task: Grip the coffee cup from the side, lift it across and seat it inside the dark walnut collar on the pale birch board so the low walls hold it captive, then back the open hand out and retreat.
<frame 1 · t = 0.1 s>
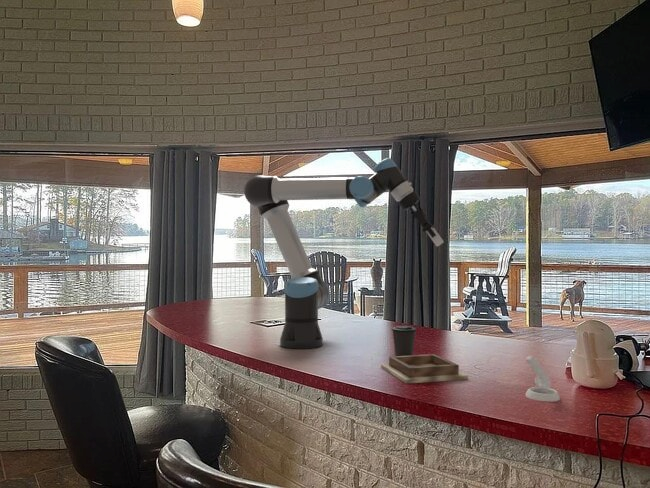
hand: (440, 244, 194), 36 cm above the bar counter, tool tilted 35°, fingers open, 13 cm apart
coffee cup: (403, 358, 173), on the bar counter
white ring with rod: (542, 397, 131), on the bar counter
collar board: (422, 373, 153), on the bar counter
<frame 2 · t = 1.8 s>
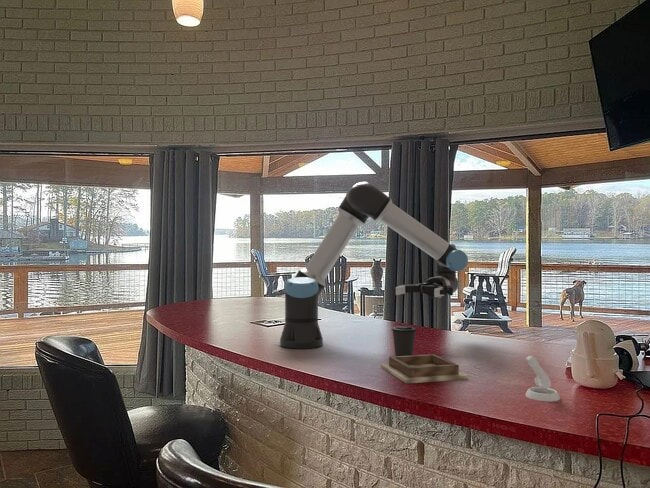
hand: (415, 292, 181), 20 cm above the bar counter, tool horizontal, fingers open, 13 cm apart
nothing on the bar counter moved.
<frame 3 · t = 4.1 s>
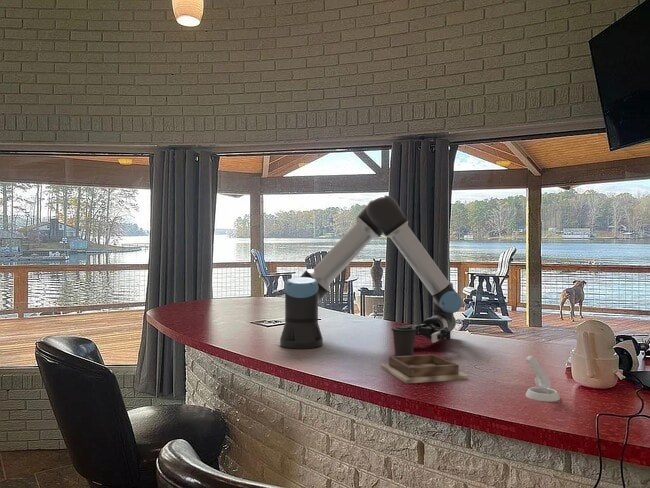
hand: (412, 336, 177), 6 cm above the bar counter, tool horizontal, fingers open, 13 cm apart
nothing on the bar counter moved.
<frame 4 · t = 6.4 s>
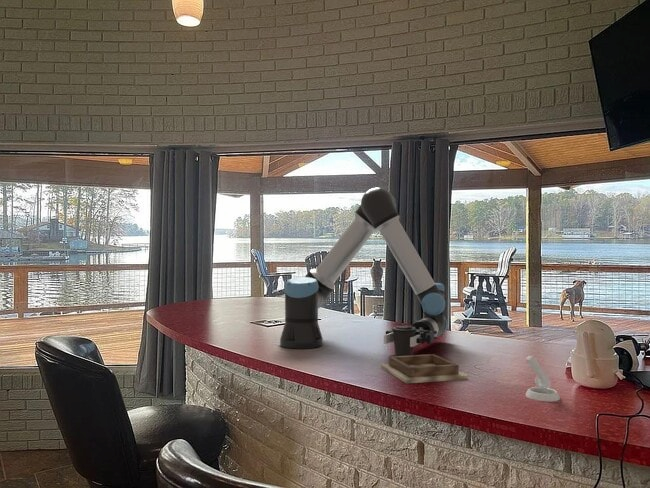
hand: (398, 341, 169), 6 cm above the bar counter, tool horizontal, fingers closed on coffee cup, 8 cm apart
coffee cup: (403, 358, 173), on the bar counter, touching gripper
everything else where it was.
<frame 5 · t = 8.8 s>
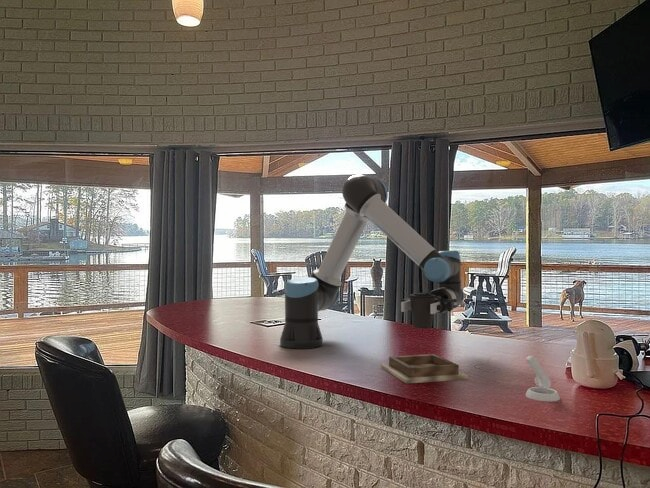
hand: (416, 308, 155), 18 cm above the bar counter, tool horizontal, fingers closed on coffee cup, 8 cm apart
coffee cup: (422, 327, 159), point 12 cm above the bar counter, touching gripper
everything else where it was.
when the fingers open (8 cm above the bar counter, at t = 11.5 s): coffee cup drops 1 cm, resting on collar board.
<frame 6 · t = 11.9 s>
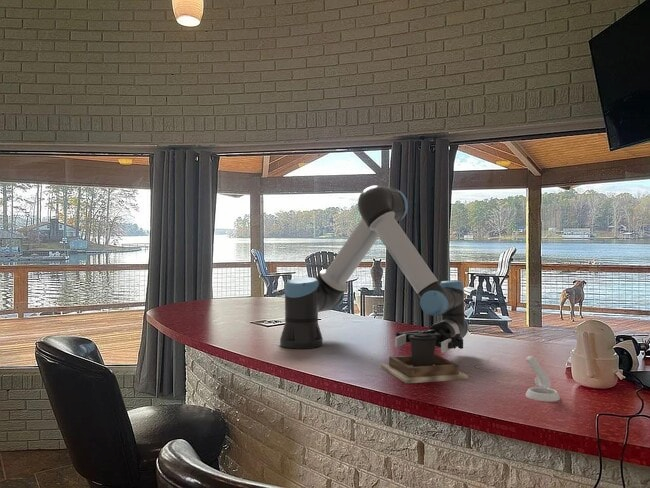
hand: (418, 344, 150), 9 cm above the bar counter, tool horizontal, fingers open, 13 cm apart
coffee cup: (423, 370, 153), point 1 cm above the bar counter, touching collar board
everything else where it was.
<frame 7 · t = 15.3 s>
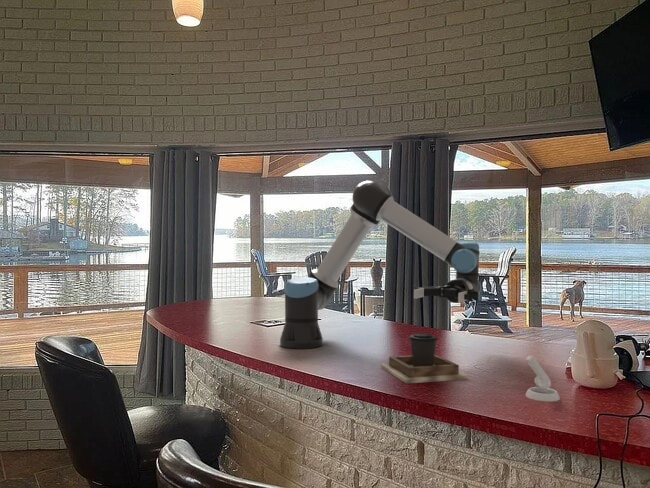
hand: (436, 295, 161), 21 cm above the bar counter, tool horizontal, fingers open, 13 cm apart
nothing on the bar counter moved.
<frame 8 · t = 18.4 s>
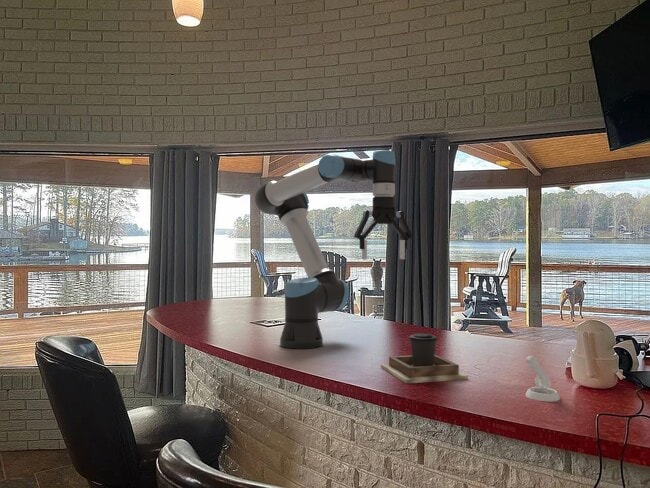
hand: (383, 259, 185), 31 cm above the bar counter, tool pointing down, fingers open, 13 cm apart
nothing on the bar counter moved.
at the end: coffee cup 0.1 cm off-centre on the collar board, point 0.8 cm above the collar board's base; coffee cup tilted 0°; the gripper is holding nothing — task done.
